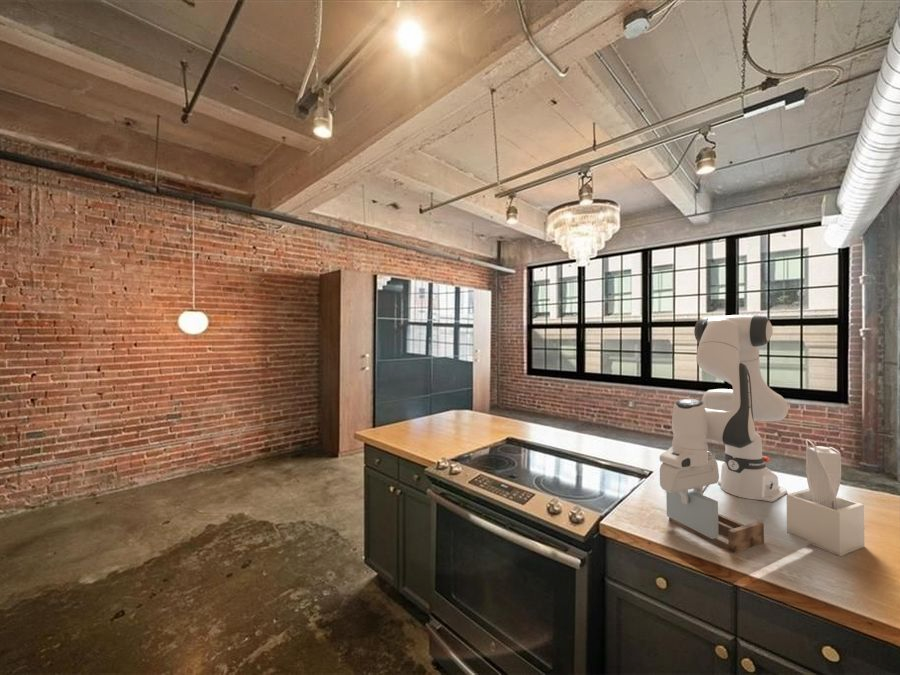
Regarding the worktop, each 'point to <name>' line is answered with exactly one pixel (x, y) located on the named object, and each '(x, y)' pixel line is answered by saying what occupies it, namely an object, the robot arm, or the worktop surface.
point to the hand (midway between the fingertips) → (690, 501)
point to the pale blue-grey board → (694, 512)
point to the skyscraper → (823, 474)
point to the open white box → (826, 523)
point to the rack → (734, 533)
